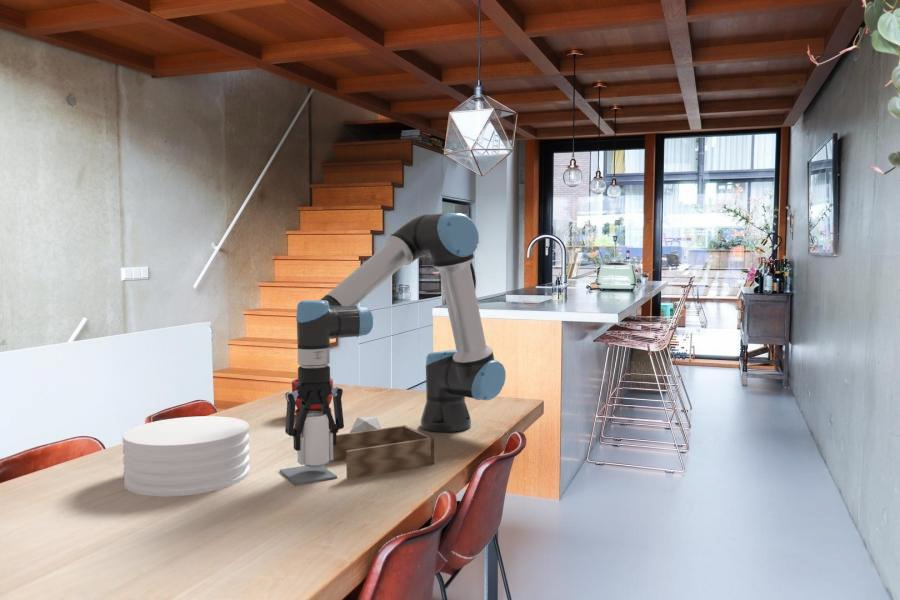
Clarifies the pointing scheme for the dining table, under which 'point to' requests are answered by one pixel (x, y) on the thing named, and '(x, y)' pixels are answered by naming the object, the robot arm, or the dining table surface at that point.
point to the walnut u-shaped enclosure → (383, 450)
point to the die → (365, 424)
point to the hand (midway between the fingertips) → (315, 460)
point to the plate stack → (186, 455)
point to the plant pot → (312, 407)
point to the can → (316, 439)
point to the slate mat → (307, 474)
